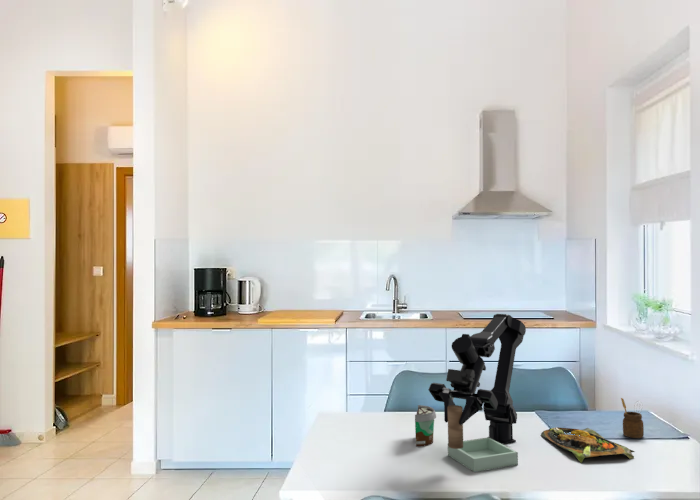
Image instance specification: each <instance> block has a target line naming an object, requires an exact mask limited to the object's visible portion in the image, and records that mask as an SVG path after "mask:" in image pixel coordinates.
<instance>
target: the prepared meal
mask: <svg viewBox="0 0 700 500" xmlns="http://www.w3.org/2000/svg"><path fill="white" fill-rule="evenodd" d="M564 432H565V433H566V434H565V433H564ZM569 432H571V434H575V435H571V434H567V433H569ZM579 435H580V436H579ZM540 437H543V438H545V439H546V440H549V441H550V442H552V443H553V444H554V445H555V446H558V447H559V448H562V449H564V450H565V451H569V452H572V455H574V456H575V458H576V459H577V460H578V462H580V464H583V461H584V459H585V458H593V457H599V456H613V455H615V456H616V455H620V454H621V455H622V454H624V455H625V456H626V457H627V458H628V459H630V460H632V459H634V458H635V456H634V454H633V453H635V452H636V451H634V450H632V449H630V448H628V447H627V446H624V445H621V444H620V443H617V442H615V441H611V440H608V439H606V438H604V436H602V434H599V433H598V432H597V431H596V430H594V429H592V428H589V427H587V428H583V429H579V428H569V427H552V428H549V429H546V430H543V431H542V432H541V433H540Z"/></svg>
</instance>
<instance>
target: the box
mask: <svg viewBox="0 0 700 500" xmlns="http://www.w3.org/2000/svg"><path fill="white" fill-rule="evenodd" d="M518 453H519V452H518V451H517V450H514V449H512V448H510V447H508V446H507V445H505V444H501V443H499V442H497V441H495V440H493V439H491V438H489V436H487V437H481V438H475V439H469V440H468V439H467V440H463V448H460V449H453V448H450V447H449V446H448V445H447V456H449V458H452V459H453V460H455V461H456V462H457V463H459V464H461V465H462V466H464V467H466V468H467V469H469V470H470V471H471V472H473V473H478V472H482V471H484V472H485V471H489V470H496V469H501V468H506V467H513V466H519V456H518V455H519V454H518Z"/></svg>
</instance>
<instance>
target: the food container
mask: <svg viewBox="0 0 700 500" xmlns="http://www.w3.org/2000/svg"><path fill="white" fill-rule="evenodd" d="M436 418H437V413H436V410H435V409H434V407H432V406H429V405H421V404H418V405H417V411H416V414H414V423H415V425H414V427H415V428H414V429H415V447H418V448H419V447H427V446H428V447H429V446H431V445H433V443H434V431H435V429H434V428H435V419H436Z"/></svg>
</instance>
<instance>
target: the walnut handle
mask: <svg viewBox="0 0 700 500" xmlns="http://www.w3.org/2000/svg"><path fill="white" fill-rule="evenodd" d="M463 410H464V409H463V406H462V405H458V404H455V405H451V406H448V407H447V412H448V422H447V440H448V441H447V447H448V446H449V447H450V448H453V449H460V448H463V441H464V424H463V425H460V424H459V421H460V417H461V415H462V412H463Z"/></svg>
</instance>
